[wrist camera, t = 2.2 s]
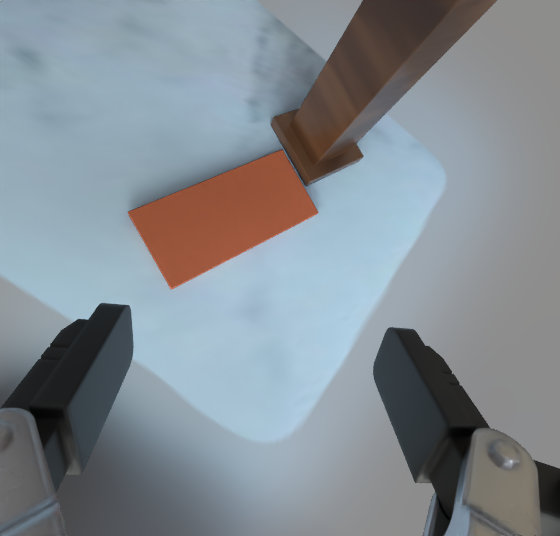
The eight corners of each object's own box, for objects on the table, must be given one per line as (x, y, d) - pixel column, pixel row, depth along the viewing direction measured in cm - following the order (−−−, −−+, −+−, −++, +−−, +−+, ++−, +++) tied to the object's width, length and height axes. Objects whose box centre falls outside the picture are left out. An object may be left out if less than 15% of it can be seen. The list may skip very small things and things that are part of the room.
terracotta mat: (171, 289, 23) (171, 288, 23) (128, 213, 23) (127, 211, 23) (316, 214, 28) (318, 212, 28) (280, 151, 28) (282, 149, 28)
